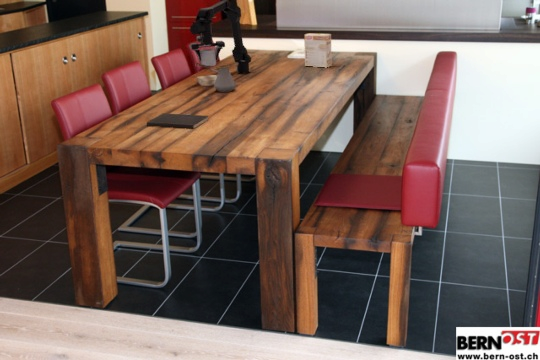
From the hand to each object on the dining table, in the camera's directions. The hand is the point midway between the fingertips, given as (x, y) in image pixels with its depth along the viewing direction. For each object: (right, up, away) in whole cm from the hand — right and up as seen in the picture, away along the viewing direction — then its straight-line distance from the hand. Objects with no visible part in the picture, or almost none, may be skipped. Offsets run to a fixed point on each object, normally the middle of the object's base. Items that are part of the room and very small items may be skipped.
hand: (208, 60), depth 388 cm
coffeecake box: (+63, +3, +38) cm, 74 cm away
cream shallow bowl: (0, -12, +4) cm, 12 cm away
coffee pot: (+5, -18, -14) cm, 24 cm away
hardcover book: (-7, -41, -73) cm, 84 cm away
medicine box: (0, -3, +1) cm, 3 cm away
